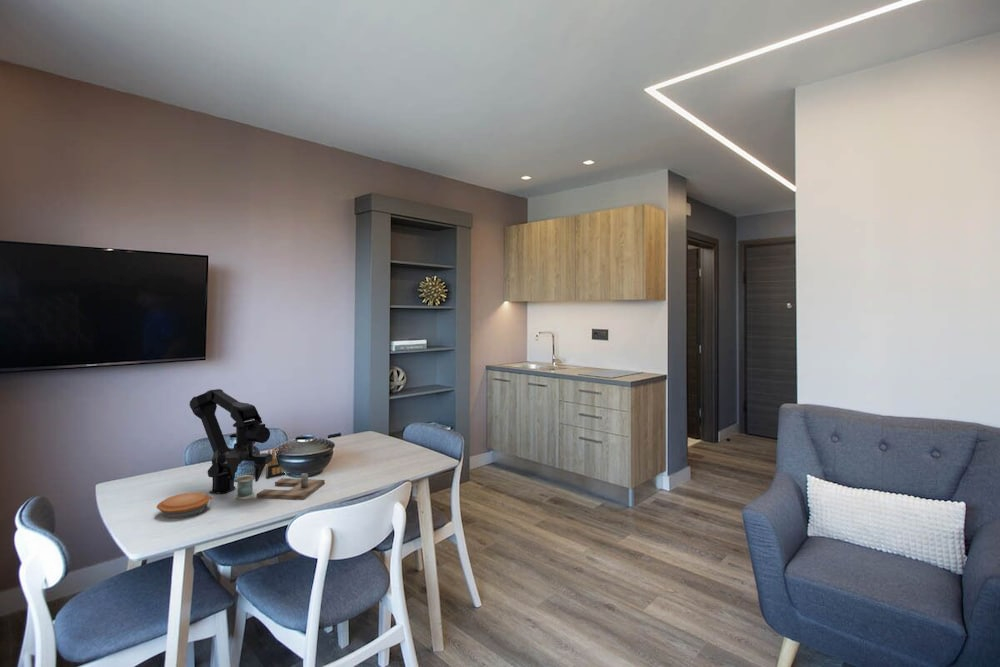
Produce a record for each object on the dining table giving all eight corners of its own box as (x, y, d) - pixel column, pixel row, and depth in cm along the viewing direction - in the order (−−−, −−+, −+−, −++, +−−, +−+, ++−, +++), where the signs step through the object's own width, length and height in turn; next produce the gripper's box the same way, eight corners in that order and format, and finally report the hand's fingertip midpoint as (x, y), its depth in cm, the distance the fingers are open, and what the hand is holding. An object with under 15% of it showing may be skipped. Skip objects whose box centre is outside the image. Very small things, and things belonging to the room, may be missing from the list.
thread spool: (232, 499, 179) (232, 479, 179) (242, 493, 185) (242, 474, 185) (247, 499, 179) (247, 480, 179) (256, 494, 185) (256, 475, 184)
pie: (180, 502, 176) (180, 488, 175) (220, 504, 174) (220, 490, 174) (145, 519, 160) (144, 504, 160) (188, 522, 159) (188, 507, 159)
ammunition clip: (267, 478, 202) (267, 450, 202) (265, 477, 204) (265, 449, 203) (293, 473, 210) (293, 445, 210) (291, 472, 211) (291, 444, 211)
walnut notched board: (256, 497, 181) (256, 480, 180) (281, 481, 199) (281, 466, 198) (303, 499, 179) (303, 482, 179) (324, 483, 197) (324, 467, 197)
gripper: (206, 444, 174) (206, 487, 174) (256, 446, 173) (256, 489, 173) (226, 436, 185) (226, 477, 186) (273, 438, 184) (273, 479, 184)
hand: (244, 481), depth 182 cm, fingers open, 9 cm apart
